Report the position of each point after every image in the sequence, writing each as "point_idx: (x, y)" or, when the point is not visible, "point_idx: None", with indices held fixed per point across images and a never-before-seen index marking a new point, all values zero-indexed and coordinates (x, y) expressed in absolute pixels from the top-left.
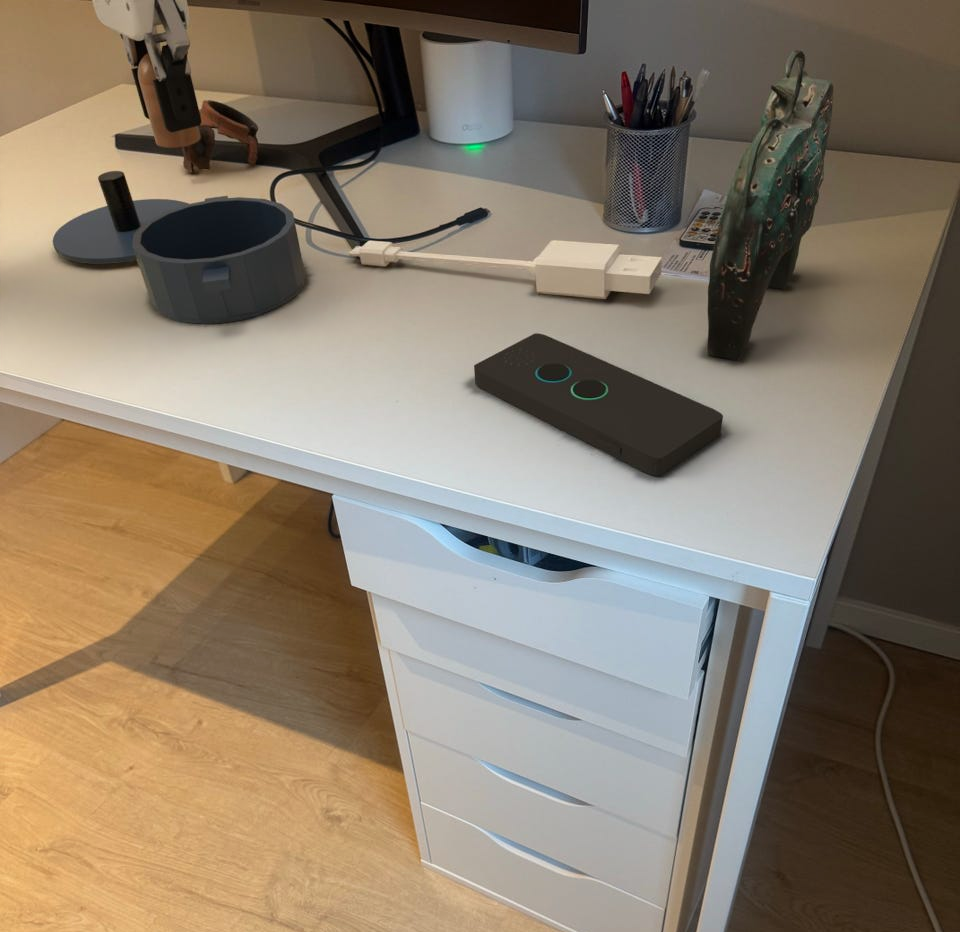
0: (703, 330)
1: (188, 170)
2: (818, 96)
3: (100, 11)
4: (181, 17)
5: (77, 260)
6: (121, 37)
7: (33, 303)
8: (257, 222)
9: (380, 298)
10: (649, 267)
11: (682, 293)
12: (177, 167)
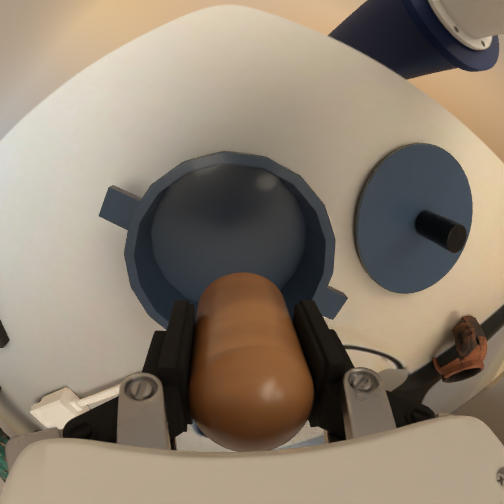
0: (11, 393)
1: (466, 316)
2: None
3: (437, 461)
4: None
5: (403, 146)
6: (424, 407)
7: (358, 72)
8: None
9: (110, 326)
10: (38, 418)
11: None
12: (478, 311)
